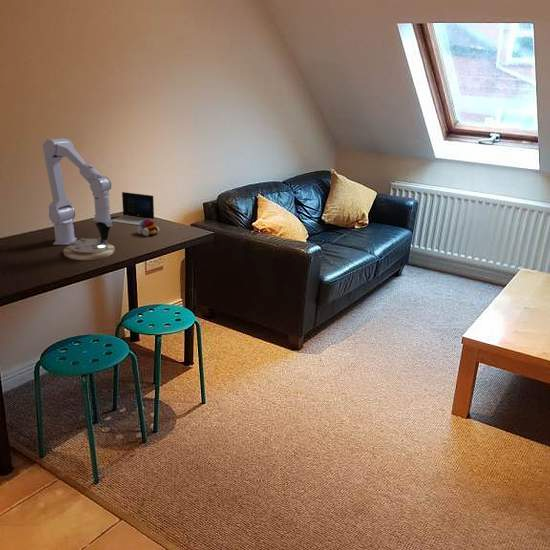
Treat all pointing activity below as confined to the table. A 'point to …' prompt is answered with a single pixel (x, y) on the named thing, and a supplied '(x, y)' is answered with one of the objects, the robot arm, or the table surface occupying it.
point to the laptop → (136, 208)
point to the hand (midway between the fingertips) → (104, 239)
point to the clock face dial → (88, 246)
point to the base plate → (95, 256)
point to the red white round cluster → (147, 228)
